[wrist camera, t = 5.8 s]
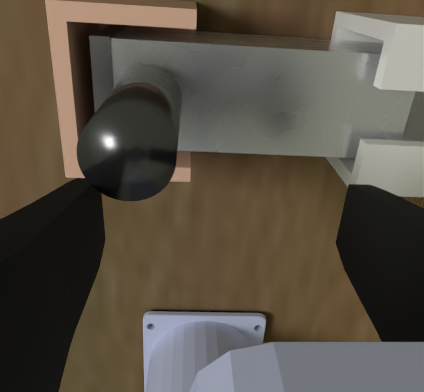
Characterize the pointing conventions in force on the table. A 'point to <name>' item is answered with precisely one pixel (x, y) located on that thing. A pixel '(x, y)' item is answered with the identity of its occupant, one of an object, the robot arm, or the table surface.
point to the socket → (81, 59)
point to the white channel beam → (389, 80)
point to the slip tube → (226, 101)
